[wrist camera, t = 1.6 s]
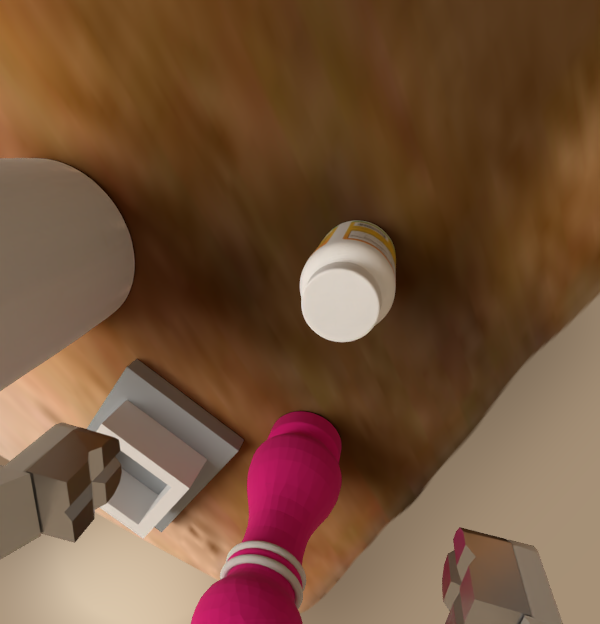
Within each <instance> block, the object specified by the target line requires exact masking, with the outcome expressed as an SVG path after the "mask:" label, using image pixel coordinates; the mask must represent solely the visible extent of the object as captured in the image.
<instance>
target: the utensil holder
mask: <svg viewBox="0 0 600 624" xmlns="http://www.w3.org/2000/svg"><path fill="white" fill-rule="evenodd" d="M134 270H135V259H134V250H133V245H132V240H131V237H130V234H129V231H128V228H127V226H126V224H125V221H124V219H123V217H122V215H121V214H120V212H119V210H118V209H117V207H116V206H115V204H114V203H113V201H112V200H111V199H110V198H109V196H108V195H107V194H106V193H105V192H104V191H103V190H102V189H101V188H100V187H99V186H98V185H97V184H96V183H95V182H94V181H93V180H92V179H90V178H89V177H88V176H86V175H85V174H83V173H82V172H80V171H79V170H77V169H75V168H73V167H71V166H69V165H66V164H64V163H61V162H58V161H54V160H50V159H42V158H0V391H1V390H3V389H4V388H6V387H7V386H9V385H10V384H12V383H13V382H14V381H16V380H17V379H19V378H20V377H22V376H23V375H25V374H26V373H28V372H29V371H31V370H32V369H34V368H35V367H37V366H39V365H40V364H42V363H43V362H45V361H46V360H48V359H49V358H51V357H52V356H54V355H55V354H57V353H58V352H60V351H61V350H62V349H64V348H65V347H67V346H68V345H70V344H71V343H73V342H74V341H76V340H77V339H78V338H80V337H81V336H83V335H84V334H85V333H87V332H88V331H90V330H91V329H92V328H94V327H95V326H96V325H98V324H99V323H101V322H102V321H103V320H105V319H106V318H108V317H109V316H110V315H111V314H113V313H114V312H115V311H116V310H117V309H118V308H119V307H120V306H121V305H122V304H123V303H124V301H125V300H126V298H127V296H128V294H129V292H130V289H131V286H132V283H133V278H134Z"/></svg>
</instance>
